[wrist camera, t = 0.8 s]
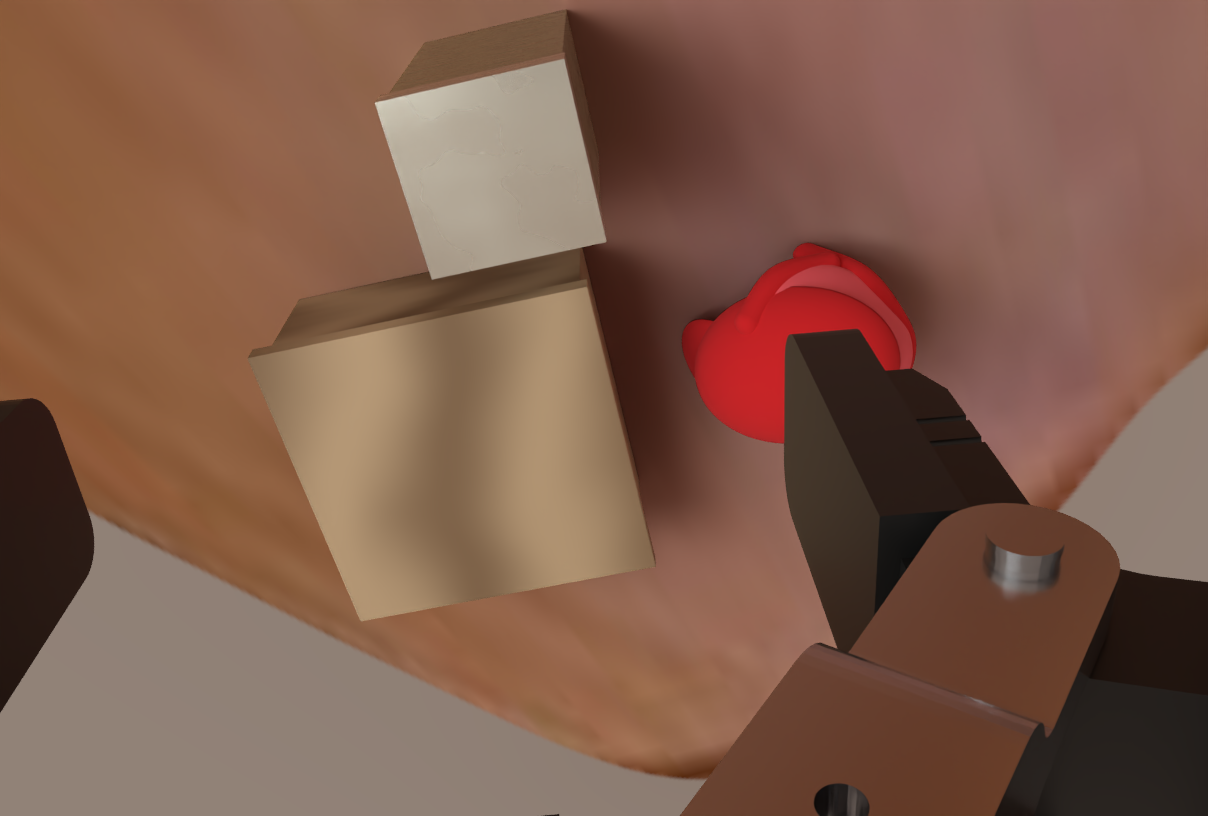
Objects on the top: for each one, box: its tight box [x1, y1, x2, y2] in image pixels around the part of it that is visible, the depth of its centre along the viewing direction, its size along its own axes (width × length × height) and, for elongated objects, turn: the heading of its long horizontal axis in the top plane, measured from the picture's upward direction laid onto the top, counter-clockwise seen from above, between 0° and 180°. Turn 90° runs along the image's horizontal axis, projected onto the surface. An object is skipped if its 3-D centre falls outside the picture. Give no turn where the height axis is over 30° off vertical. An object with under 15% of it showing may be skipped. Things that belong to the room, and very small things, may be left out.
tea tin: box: [375, 10, 607, 279], centre depth 30 cm, size 5×5×8 cm
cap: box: [682, 243, 916, 443], centre depth 35 cm, size 8×6×6 cm
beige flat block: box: [248, 247, 656, 621], centre depth 37 cm, size 11×11×5 cm
